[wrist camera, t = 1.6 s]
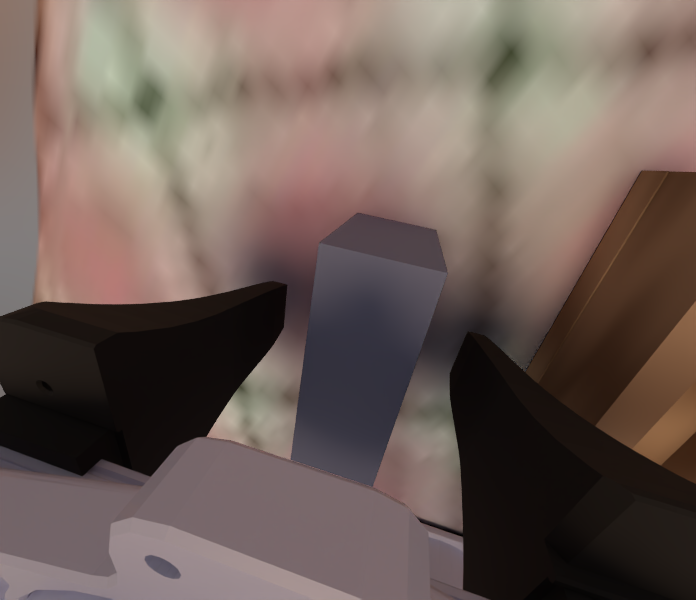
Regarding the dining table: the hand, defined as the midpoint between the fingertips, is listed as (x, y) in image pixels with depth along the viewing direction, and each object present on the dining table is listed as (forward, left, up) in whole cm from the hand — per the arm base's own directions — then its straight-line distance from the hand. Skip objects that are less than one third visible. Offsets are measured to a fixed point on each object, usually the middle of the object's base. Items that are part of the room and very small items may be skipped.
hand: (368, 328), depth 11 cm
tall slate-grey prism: (0, 0, -2) cm, 2 cm away
